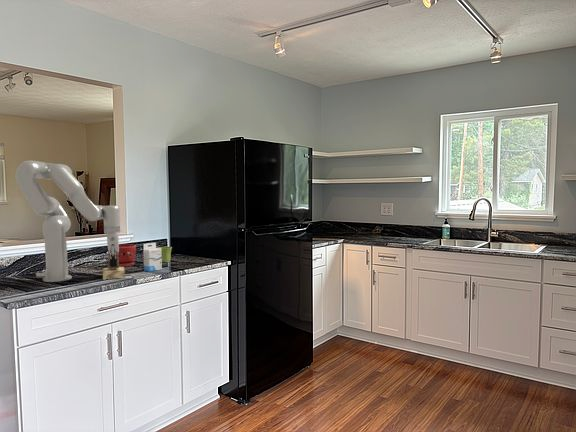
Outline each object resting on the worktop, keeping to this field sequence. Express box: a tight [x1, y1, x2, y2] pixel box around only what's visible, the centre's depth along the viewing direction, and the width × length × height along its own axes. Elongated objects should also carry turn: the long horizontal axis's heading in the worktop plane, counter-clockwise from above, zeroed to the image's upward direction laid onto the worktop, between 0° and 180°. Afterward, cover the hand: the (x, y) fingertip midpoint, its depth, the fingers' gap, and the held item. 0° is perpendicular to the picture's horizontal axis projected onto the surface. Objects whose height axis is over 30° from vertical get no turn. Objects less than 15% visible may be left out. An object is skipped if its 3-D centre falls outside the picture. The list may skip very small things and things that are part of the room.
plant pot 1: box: [116, 244, 137, 268], centre depth 253 cm, size 13×13×12 cm
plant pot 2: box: [157, 246, 173, 263], centre depth 266 cm, size 9×9×9 cm
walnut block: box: [107, 252, 119, 269], centre depth 221 cm, size 5×5×7 cm
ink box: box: [143, 242, 163, 272], centre depth 239 cm, size 9×5×15 cm, turn 145°
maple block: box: [102, 267, 126, 281], centre depth 222 cm, size 10×10×4 cm
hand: (113, 265), depth 221 cm, fingers closed on walnut block, 5 cm apart
